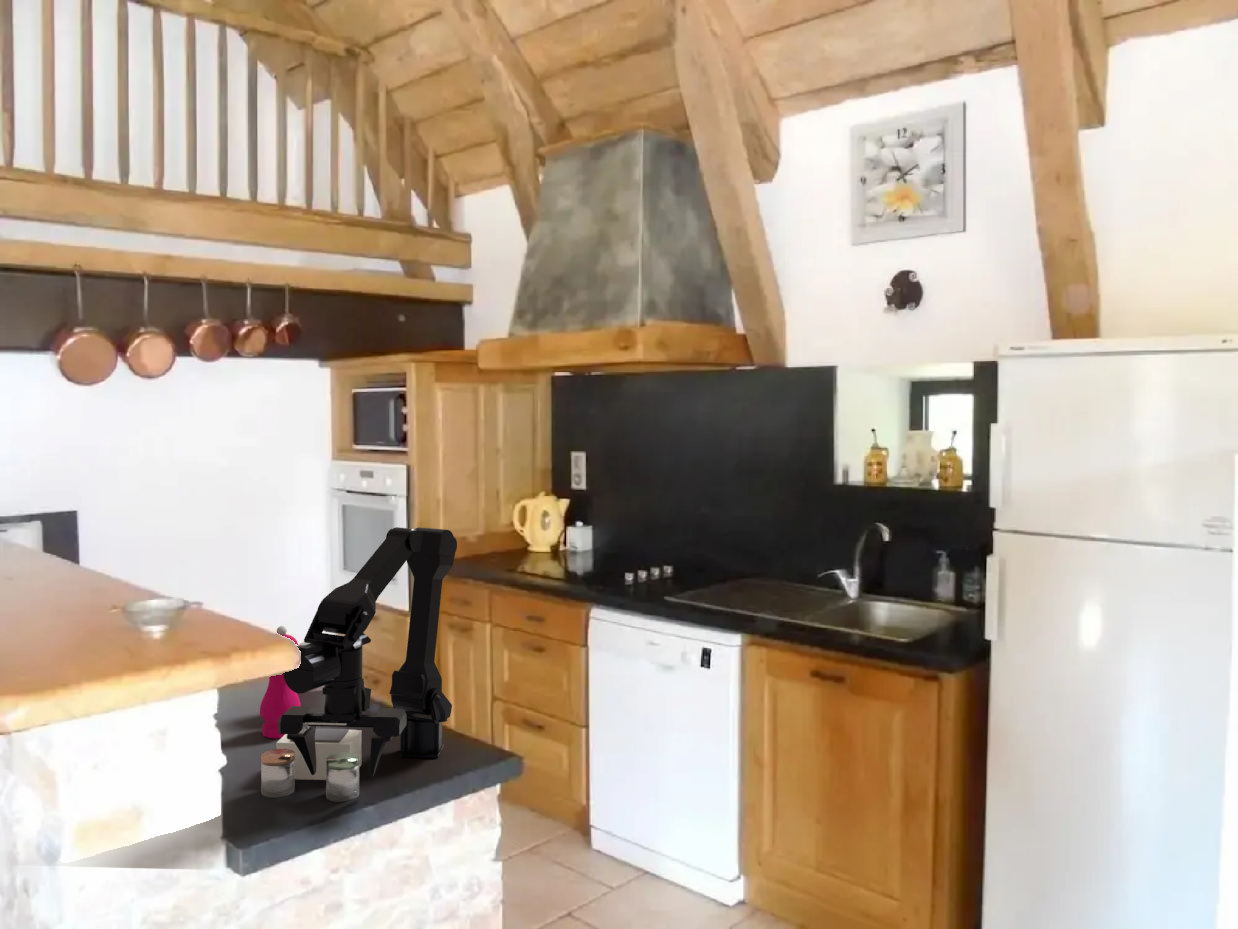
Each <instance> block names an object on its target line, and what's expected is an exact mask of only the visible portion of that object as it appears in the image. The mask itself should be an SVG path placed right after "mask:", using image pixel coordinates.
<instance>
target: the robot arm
mask: <svg viewBox="0 0 1238 929" xmlns="http://www.w3.org/2000/svg"><path fill="white" fill-rule="evenodd" d="M457 548H458V541H457V538H456V537H455V536H454V533H453V532H452V531H451V530H449V529H445V528H434V527H433V528H432V527H421V526H420V527H415V528H410V527H408V528H407V527H393V528H390V529H389V530H388V531H387V533H386V536H385V539H384V541H383V542H382V543H381V544H380V545H379V546H378V548H377V549H376V550H375V551H374V552H373V553H372V555H371V556H370V557H369V559H368V560H367V561H366V562H365V564H364V565H363V566H362V567H361V569H360V570H359V571H358V572H357V574H356V575H355V576H354V577H353V578H352V579H351V580H350V581H349V582H347V583H344V584H342V585H340V586H338V587H335V588H334V589H333V590H332V591H330V593H328V594H327V595H326V596H324V598H323V599H322V600H321V601H320V603H319V605H318V606H317V610H316V612H315V615H314V616H313V618H312V621H311V623H310V625H309V627H308V630H307V632H306V634H305V636H304V638H303V642H305V643H310V644H307V645H300V646H297V647H298V648H299V650H300V651H301V664H300V666H299V668H297V669H294V670H292V671H289V672H285V673H283V675H284V679H285V682H286V684H287V686H288V687H289V688H290V689H291V690H292V691H293V692H296V693H299V694H301V693H306V692H308V691H311V690H313V689H316V688H319V687H321V686H324V687H323V694H324V713H323V714H315V710H314V708H313V707H308V706H291V707H290V708H289V709H288V710H287V711H286V712H285V713H284V714H283V715H282V716H281V717H280V718H279V721H278V733H279V734H288V735H287V739H291V740H293V742H294V743H295V745H296V746H297V748H298V749H299V751H300V752H301V754H302V756H303V758H304V760H305V762H306V764H307V766H308V768H309V771H310V773H311V775H315V773H316V749H315V731H316V728H317V727H325V728H327V727H331V728H333V727H334V728H335V727H336V728H370V729H371V728H372V731H373V733H374V734H373V736H372V737H371V739H370V740H371V741H370V758H369V773H370V774H369V776H370V777H374V776H375V775H376V774H375V773H376V770H377V768H378V764H379V761H380V758H381V755H382V752H383V750H384V747H385V745H386V744H387V742H388V743H389V742H391V741H392V740H393V738H395V737H399V742H400V743H399V749H400V751H401V752H400V757H401V758H431V759H432V758H438V757H439V756H440V754H441V752H442V750H443V748H444V747H445V743H444V742H443V723H446V722H448V719H449V718H450V717H451V715H452V709H453V704H452V703H451V702H450V700H449V699H448V698H447V697H446V695H445V694H444V693H443V687H442V686H443V678H442V676H441V673H440V670H439V669H438V666H437V665H436V662H435V661H436V660H435V659H436V651H437V650H436V648H437V639H438V638H437V637H438V629H439V628H438V627H439V619H440V618H439V617H440V608H441V597H442V589H443V588H442V587H443V580H444V578H445V577H446V576H447V574H448V573H449V572H450V570H451V569H452V567H453V565H454V562H455V556H456V552H457ZM405 563H407V566H408V567H409V569H410V572H411V574H412V576H413V586H412V595H411V602H410V603H411V605H410V615H409V625H408V632H407V633H408V635H407V644H406V655H405V660H404V662H403V664H402V665H401V666H400V668H399V669H398V670H393V672H392V674H391V687H390V689H389V690H390V691H389V694H390V701H391V704H392V707H391V708H389V707H386V708H385V707H383V708H381V709H380V710H379V711H378V712H377V714H363V713H365V712H366V711H367V710H368V709H370V706H371V695H372V689H371V688H369V687H365V681H364V680H365V679H364V678H363V646H364V645H367V644H370V643H371V642H372V639H371V637H369V636H368V635H367V634H366V633H365V631H366V630H367V628H368V627H369V625H370V623H371V622H372V620H373V619H374V616H375V615H376V608H377V607H376V606H377V605H376V603H377V600H378V598H379V597H380V596H381V594H382V592H384V590H385V589H386V588H387V587H388V586H389V584H390V583H391V581H392V580H393V578H394V577H395V576H396V575H397V573H398V572H399V571H400V570H401V569H402V567H403V566H404V564H405ZM323 632H325V633H323ZM330 633H331V634H330Z"/></svg>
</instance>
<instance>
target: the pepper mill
mask: <svg viewBox="0 0 1238 929" xmlns="http://www.w3.org/2000/svg"><path fill="white" fill-rule="evenodd" d="M277 633H278V634H280V635H282V636H285V637H287V638H290V639H291V640H293V641H294V642H295V644H297V645H298V644H299V643H298V640H297V639H296V638H295V637H294V636H292V635H290V634H287V628H286V626H283V625H280V626H278V627H277V628H276V634H277ZM268 677H269V676H268ZM291 706H301V704H300V700H299V697H298V695H297V693H296V692H293V691H292V690H291V689H290V688H289V687H288V686H287V684H286V682H285V679H284V675H283V674H282V675H276V676H271V677H269V678H268V685H267V689H266V691H265V693H264V696H263V698H262V700H261V702H260V706H259V715H260V717H261V719H262V720H263V721H264V723H262V726H261V728H262V729H261V730H262V731H261V734H262V736H263V737H265V738H268V739H281V738H282V737H283V736H284V735H285V734H279V733H278V721H279V718H280V717H281V716H282V715H283V714H284V713H285V712H286V711H287V710H288V709H289V708H290V707H291Z"/></svg>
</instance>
